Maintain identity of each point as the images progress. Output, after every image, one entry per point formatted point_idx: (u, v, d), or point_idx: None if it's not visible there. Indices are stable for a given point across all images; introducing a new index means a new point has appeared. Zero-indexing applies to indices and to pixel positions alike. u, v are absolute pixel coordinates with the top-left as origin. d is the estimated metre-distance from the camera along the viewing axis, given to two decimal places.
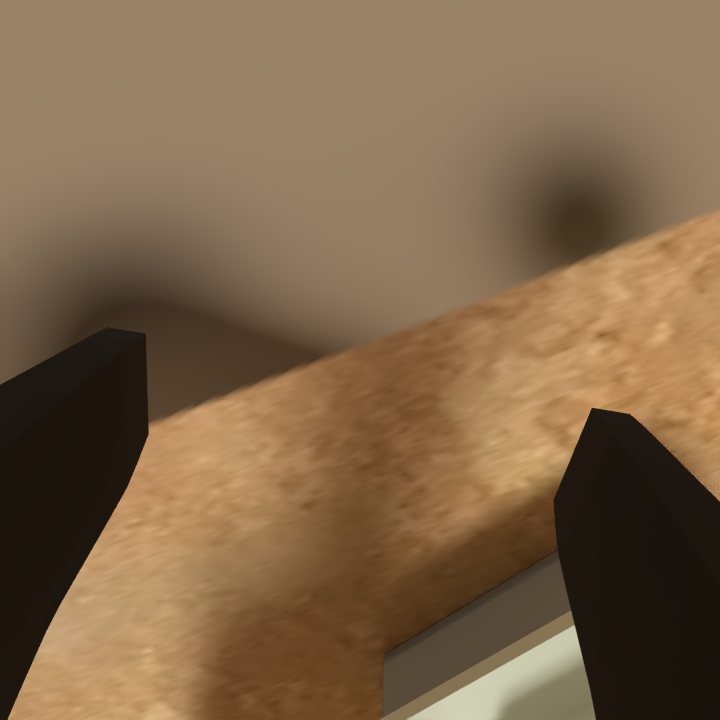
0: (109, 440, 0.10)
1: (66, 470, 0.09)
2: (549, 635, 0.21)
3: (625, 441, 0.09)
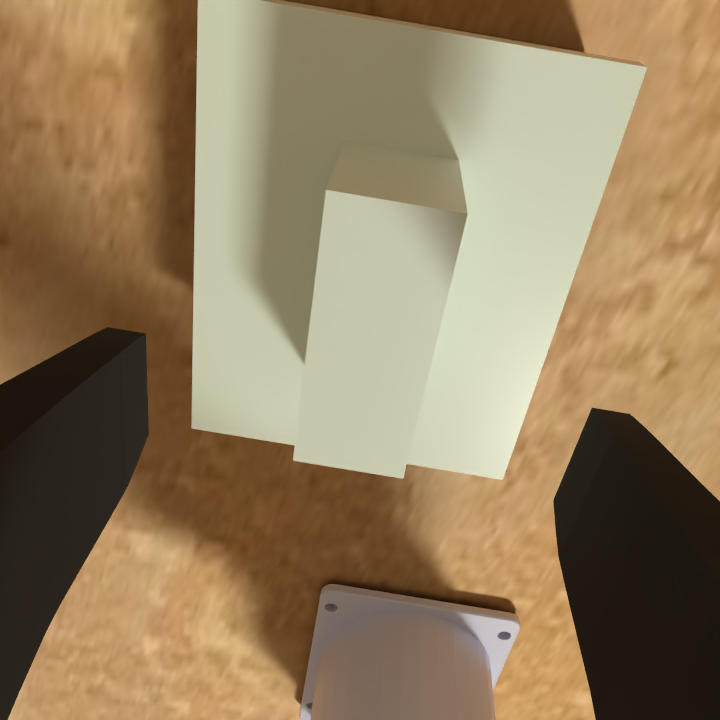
0: (109, 440, 0.10)
1: (66, 470, 0.09)
2: None
3: (625, 441, 0.09)
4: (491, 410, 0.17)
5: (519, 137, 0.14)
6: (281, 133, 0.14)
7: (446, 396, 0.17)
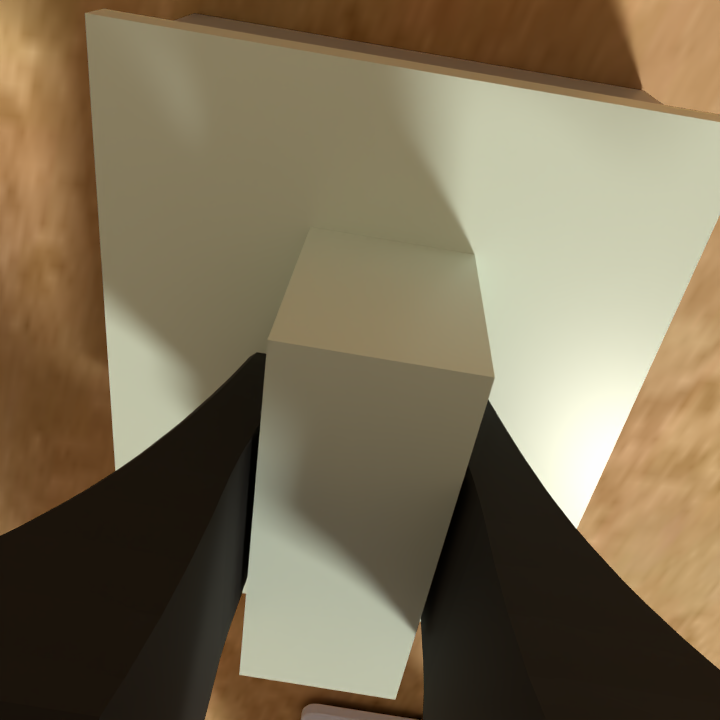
0: None
1: (247, 499, 0.09)
2: (106, 239, 0.10)
3: None
4: None
5: (563, 225, 0.09)
6: (220, 216, 0.10)
7: None
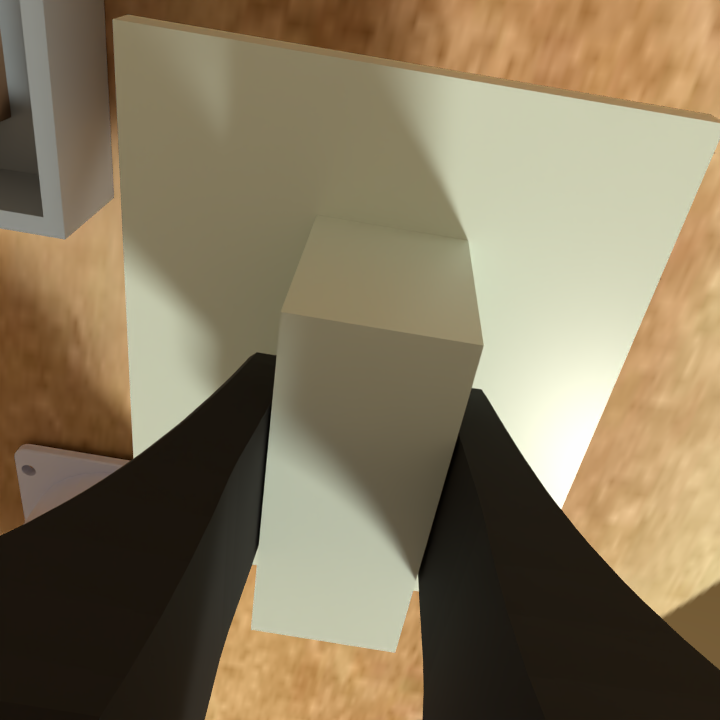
0: None
1: (247, 499, 0.09)
2: None
3: None
4: None
5: (548, 213, 0.10)
6: (233, 205, 0.11)
7: None
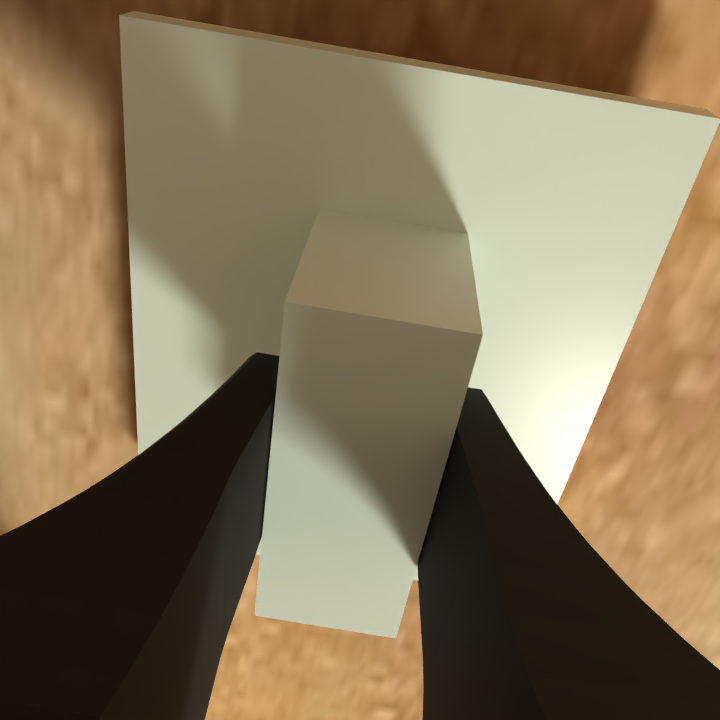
0: None
1: (247, 499, 0.09)
2: None
3: (460, 414, 0.09)
4: None
5: (547, 206, 0.10)
6: (237, 198, 0.11)
7: None
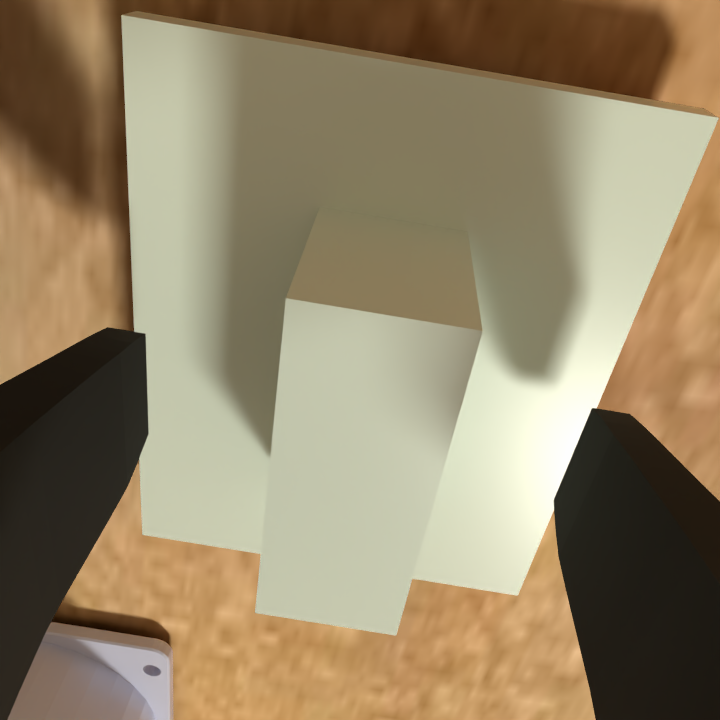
0: (109, 440, 0.10)
1: (66, 470, 0.09)
2: (134, 219, 0.11)
3: (625, 441, 0.09)
4: (505, 520, 0.14)
5: (546, 204, 0.10)
6: (238, 197, 0.11)
7: (450, 504, 0.14)
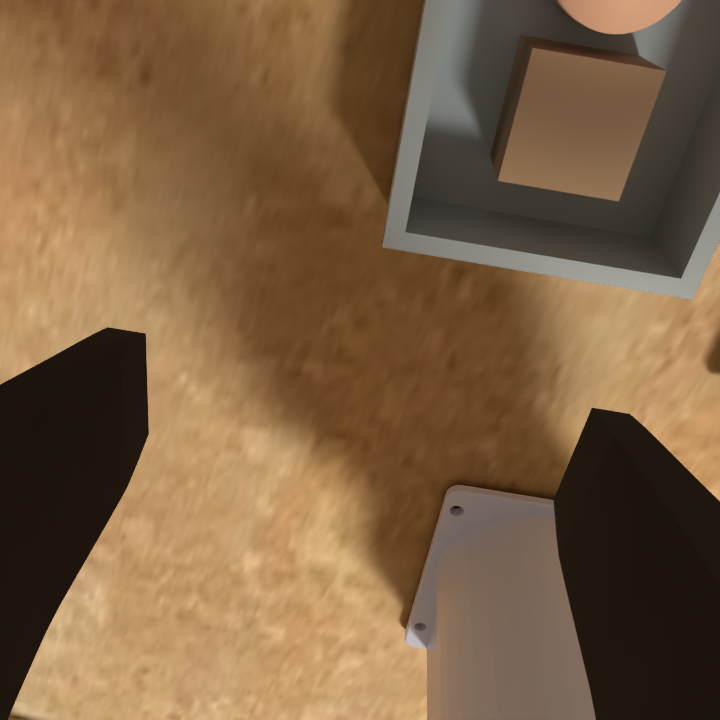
0: (109, 440, 0.10)
1: (66, 470, 0.09)
2: None
3: (625, 441, 0.09)
4: None
5: None
6: None
7: None
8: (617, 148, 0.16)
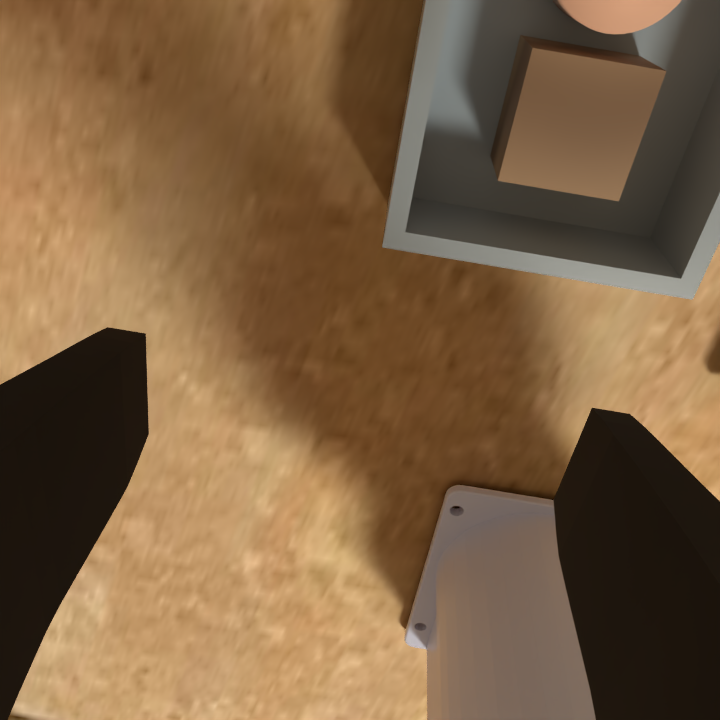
0: (109, 440, 0.10)
1: (66, 470, 0.09)
2: None
3: (625, 441, 0.09)
4: None
5: None
6: None
7: None
8: (617, 148, 0.16)
